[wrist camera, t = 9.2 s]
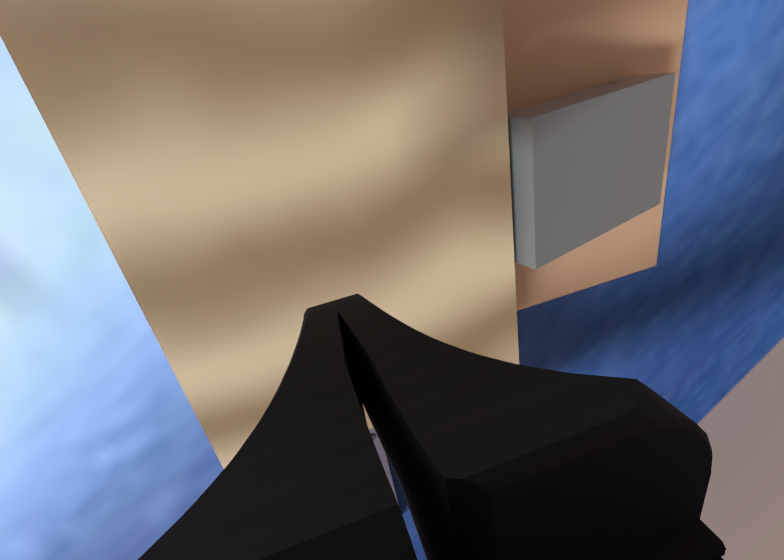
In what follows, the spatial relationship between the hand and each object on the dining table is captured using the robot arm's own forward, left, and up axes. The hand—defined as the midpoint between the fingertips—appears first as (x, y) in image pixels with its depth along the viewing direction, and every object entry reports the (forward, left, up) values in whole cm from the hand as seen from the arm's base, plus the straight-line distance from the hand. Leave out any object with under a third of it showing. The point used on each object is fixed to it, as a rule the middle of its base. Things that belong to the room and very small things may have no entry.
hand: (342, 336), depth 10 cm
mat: (0, -14, -10) cm, 17 cm away
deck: (0, -1, -10) cm, 10 cm away
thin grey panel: (0, -12, -8) cm, 15 cm away
